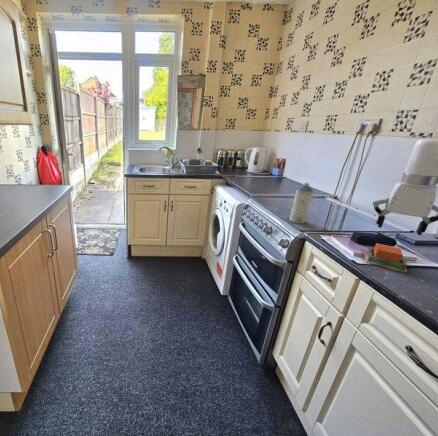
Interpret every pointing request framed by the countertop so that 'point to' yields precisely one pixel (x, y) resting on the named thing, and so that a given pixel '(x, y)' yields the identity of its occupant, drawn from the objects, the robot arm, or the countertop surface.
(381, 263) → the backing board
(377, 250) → the orange block
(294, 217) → the aerosol can
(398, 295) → the countertop surface
